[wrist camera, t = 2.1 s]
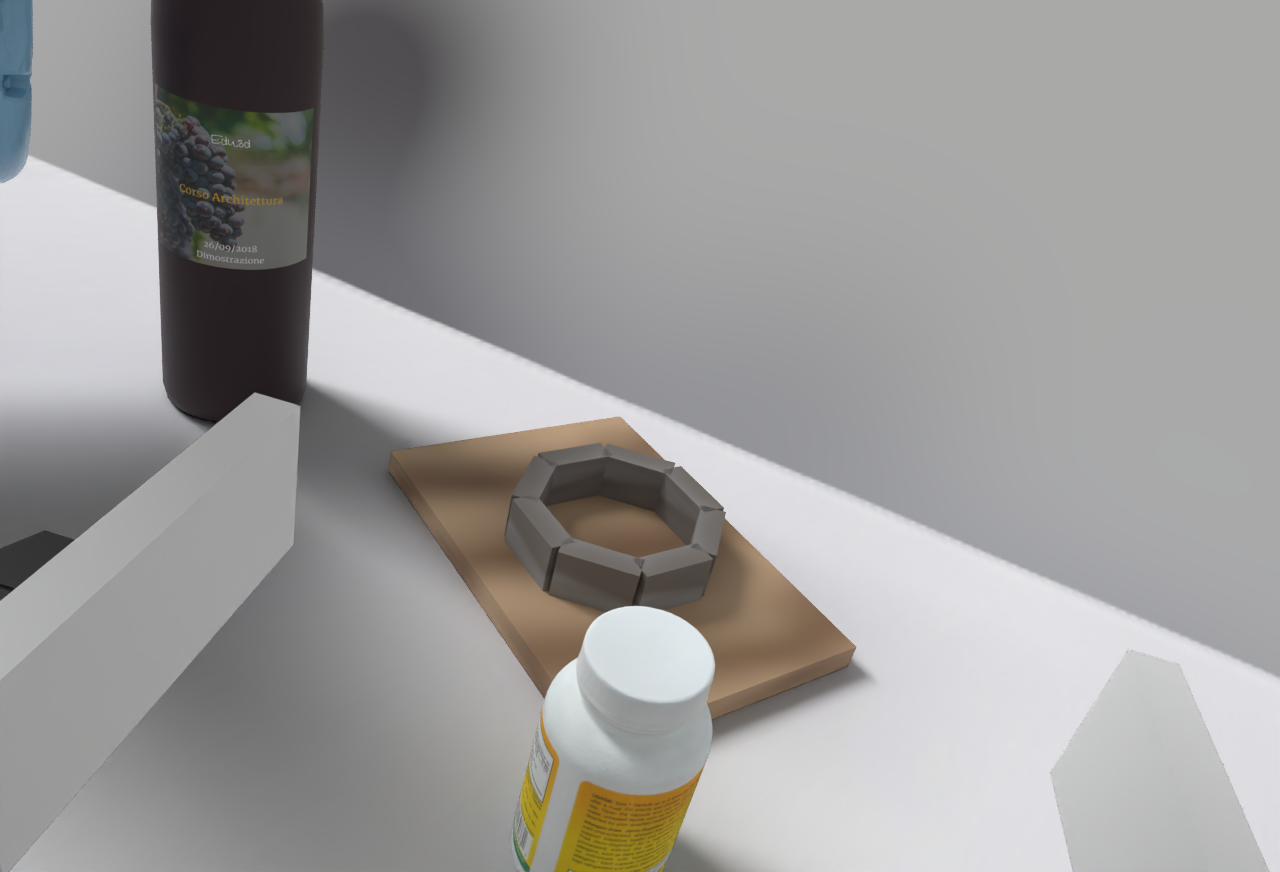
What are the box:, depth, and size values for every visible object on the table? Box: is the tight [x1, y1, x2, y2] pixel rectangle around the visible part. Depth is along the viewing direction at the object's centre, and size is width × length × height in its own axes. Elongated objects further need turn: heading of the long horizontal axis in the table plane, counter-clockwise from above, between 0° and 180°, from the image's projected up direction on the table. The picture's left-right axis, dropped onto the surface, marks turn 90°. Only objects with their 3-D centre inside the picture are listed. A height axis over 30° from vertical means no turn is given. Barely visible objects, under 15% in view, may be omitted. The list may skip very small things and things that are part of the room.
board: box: [389, 417, 856, 719], centre depth 46 cm, size 20×14×4 cm
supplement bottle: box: [512, 606, 715, 872], centre depth 31 cm, size 5×5×10 cm
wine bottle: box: [151, 0, 324, 422], centre depth 45 cm, size 7×7×30 cm
